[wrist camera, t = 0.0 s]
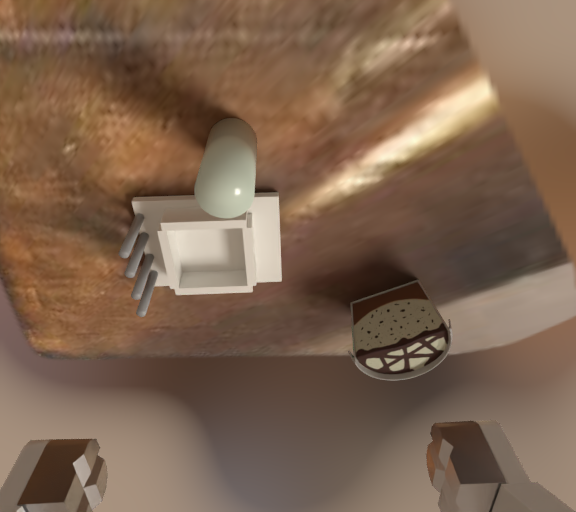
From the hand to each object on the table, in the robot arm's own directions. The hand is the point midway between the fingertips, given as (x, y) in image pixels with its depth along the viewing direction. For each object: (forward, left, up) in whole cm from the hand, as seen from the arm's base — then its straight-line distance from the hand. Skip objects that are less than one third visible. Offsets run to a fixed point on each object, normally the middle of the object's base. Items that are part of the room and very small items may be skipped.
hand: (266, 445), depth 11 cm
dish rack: (+20, -7, -39) cm, 44 cm away
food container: (+32, +15, -39) cm, 53 cm away
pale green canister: (+8, -4, -39) cm, 40 cm away
